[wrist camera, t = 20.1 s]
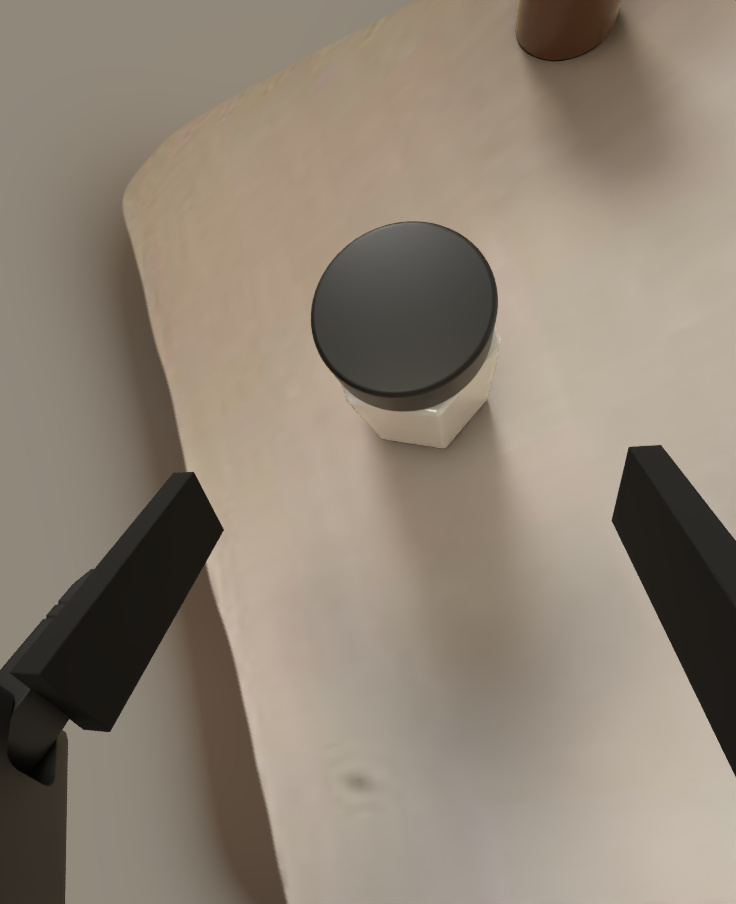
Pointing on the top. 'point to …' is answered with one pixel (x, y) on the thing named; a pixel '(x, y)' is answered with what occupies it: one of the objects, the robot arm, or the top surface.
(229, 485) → the top surface
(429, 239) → the jar
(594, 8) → the jam jar
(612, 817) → the top surface
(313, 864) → the top surface
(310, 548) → the top surface
